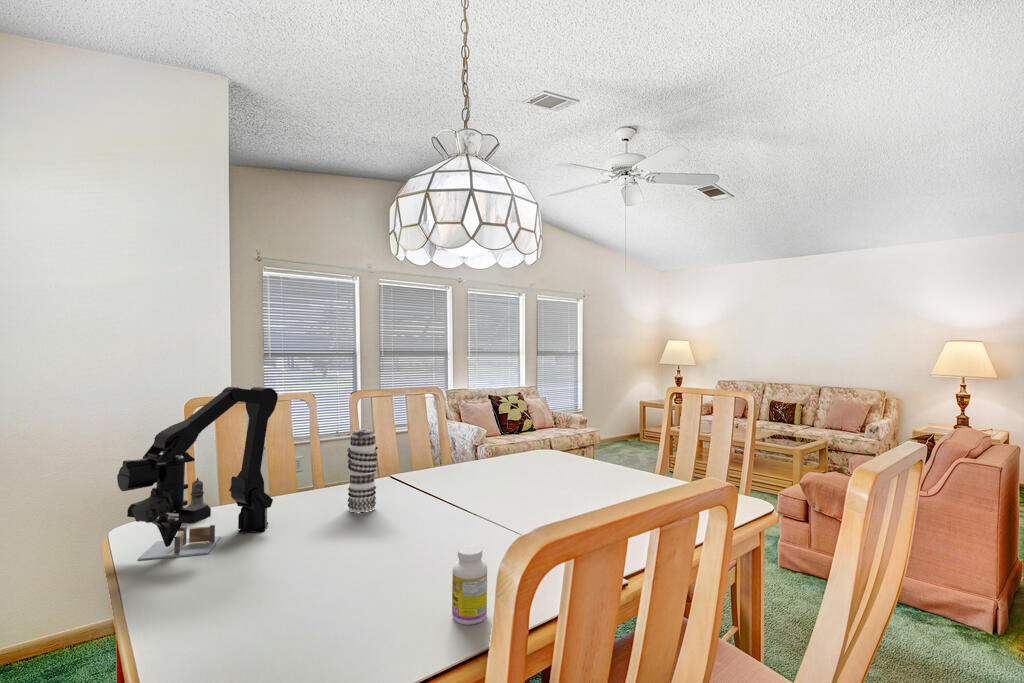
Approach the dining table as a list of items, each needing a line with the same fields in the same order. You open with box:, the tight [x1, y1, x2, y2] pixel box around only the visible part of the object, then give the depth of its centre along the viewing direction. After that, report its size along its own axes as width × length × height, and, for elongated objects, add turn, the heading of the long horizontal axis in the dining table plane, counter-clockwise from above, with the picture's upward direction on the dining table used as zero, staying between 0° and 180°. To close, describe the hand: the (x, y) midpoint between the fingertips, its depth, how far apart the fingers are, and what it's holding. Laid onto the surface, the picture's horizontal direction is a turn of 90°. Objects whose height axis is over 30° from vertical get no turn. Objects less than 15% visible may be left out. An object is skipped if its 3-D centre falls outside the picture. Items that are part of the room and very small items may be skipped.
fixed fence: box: [177, 524, 216, 545], centre depth 133 cm, size 8×2×5 cm, turn 106°
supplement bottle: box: [451, 544, 488, 626], centre depth 99 cm, size 7×7×13 cm
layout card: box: [137, 535, 222, 561], centre depth 130 cm, size 15×11×1 cm
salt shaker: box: [185, 477, 209, 508], centre depth 153 cm, size 6×6×12 cm
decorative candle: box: [347, 428, 379, 513], centre depth 163 cm, size 9×9×25 cm
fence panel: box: [173, 531, 184, 554], centre depth 128 cm, size 6×1×4 cm, turn 24°
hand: (168, 546), depth 126 cm, fingers closed
